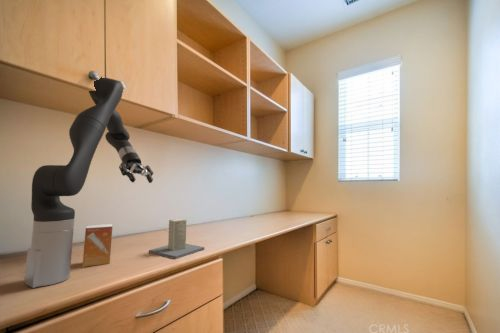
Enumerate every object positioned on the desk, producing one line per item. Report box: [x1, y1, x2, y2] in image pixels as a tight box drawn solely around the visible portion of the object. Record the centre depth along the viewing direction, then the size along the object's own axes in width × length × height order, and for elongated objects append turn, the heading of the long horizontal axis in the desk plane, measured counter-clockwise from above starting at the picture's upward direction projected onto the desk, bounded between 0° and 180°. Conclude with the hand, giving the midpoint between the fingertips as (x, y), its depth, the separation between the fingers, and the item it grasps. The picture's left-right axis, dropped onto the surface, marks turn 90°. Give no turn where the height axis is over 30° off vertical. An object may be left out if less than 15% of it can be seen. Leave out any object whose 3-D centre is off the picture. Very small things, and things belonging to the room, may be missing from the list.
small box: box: [82, 223, 113, 268], centre depth 82 cm, size 8×6×13 cm
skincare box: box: [167, 218, 187, 251], centre depth 98 cm, size 6×4×12 cm
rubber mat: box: [148, 243, 205, 260], centre depth 98 cm, size 16×16×1 cm
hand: (143, 181), depth 103 cm, fingers open, 8 cm apart
